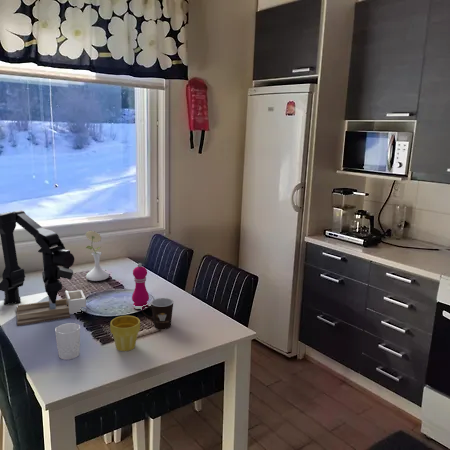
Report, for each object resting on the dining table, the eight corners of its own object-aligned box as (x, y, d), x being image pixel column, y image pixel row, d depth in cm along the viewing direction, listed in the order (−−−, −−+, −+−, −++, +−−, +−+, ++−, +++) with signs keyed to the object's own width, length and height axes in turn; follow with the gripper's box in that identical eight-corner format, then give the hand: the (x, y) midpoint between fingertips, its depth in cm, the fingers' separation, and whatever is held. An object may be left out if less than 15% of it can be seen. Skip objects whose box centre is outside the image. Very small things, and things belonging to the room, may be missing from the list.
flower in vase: (114, 278, 227) (112, 230, 222) (96, 284, 218) (94, 235, 212) (96, 273, 234) (94, 227, 228) (79, 279, 224) (76, 231, 219)
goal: (66, 305, 192) (65, 290, 191) (82, 302, 195) (81, 288, 194) (69, 314, 183) (68, 299, 182) (86, 311, 186) (85, 296, 185)
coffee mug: (177, 323, 177) (177, 299, 175) (167, 332, 169) (167, 308, 167) (151, 318, 181) (150, 295, 179) (140, 327, 173) (140, 303, 171)
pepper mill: (145, 311, 188) (144, 266, 183) (129, 309, 189) (128, 265, 185) (151, 305, 195) (150, 261, 190) (136, 303, 196) (135, 260, 192)
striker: (48, 306, 187) (47, 288, 186) (55, 305, 188) (53, 287, 187) (50, 312, 182) (49, 293, 180) (56, 311, 183) (55, 293, 181)
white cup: (60, 349, 155) (58, 323, 153) (83, 349, 156) (82, 322, 153) (54, 361, 147) (52, 333, 145) (78, 360, 148) (76, 333, 146)
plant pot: (146, 347, 158) (146, 321, 156) (121, 357, 151) (120, 330, 148) (130, 337, 165) (129, 312, 163) (105, 346, 158) (104, 320, 156)
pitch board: (16, 309, 187) (16, 302, 186) (65, 302, 195) (64, 296, 195) (17, 325, 172) (16, 318, 171) (70, 317, 180) (69, 310, 180)
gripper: (74, 267, 176) (76, 304, 179) (68, 255, 192) (70, 289, 196) (44, 271, 171) (46, 308, 175) (40, 258, 188) (43, 292, 191)
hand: (53, 299), depth 184 cm, fingers open, 9 cm apart
